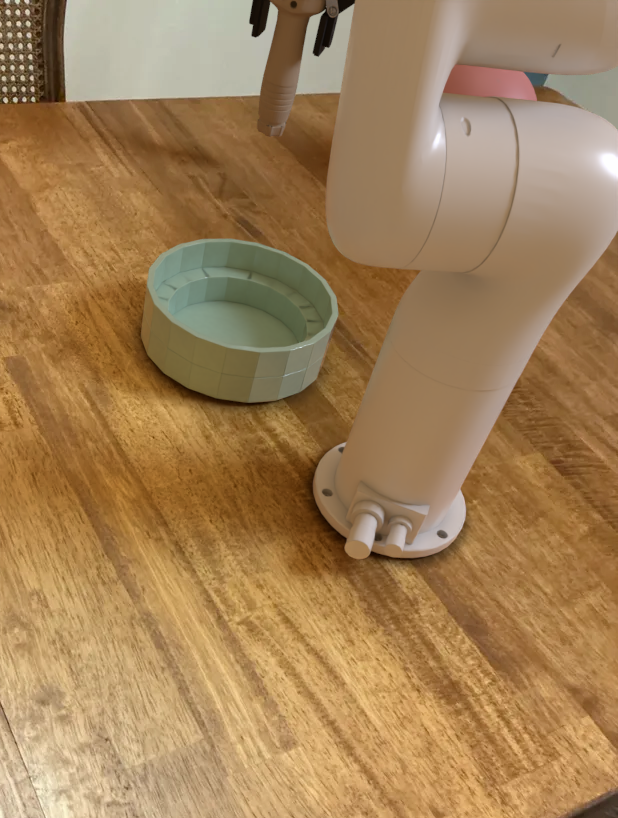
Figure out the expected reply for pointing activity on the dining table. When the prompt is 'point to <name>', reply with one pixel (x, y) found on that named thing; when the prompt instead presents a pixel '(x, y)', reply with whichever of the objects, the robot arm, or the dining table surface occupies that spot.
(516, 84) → the balloon
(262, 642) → the dining table surface
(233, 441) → the dining table surface
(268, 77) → the handle
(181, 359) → the bowl
